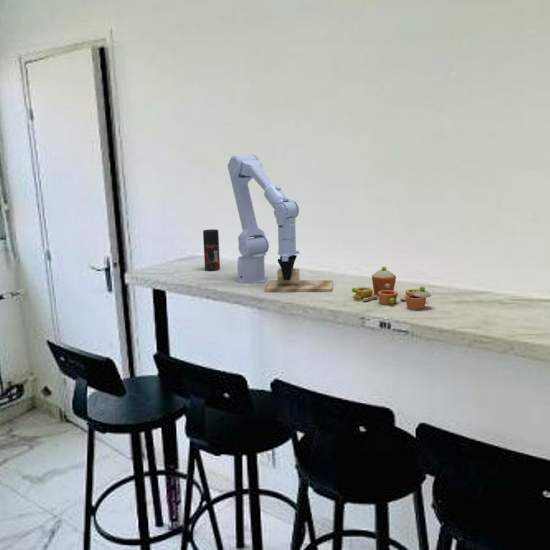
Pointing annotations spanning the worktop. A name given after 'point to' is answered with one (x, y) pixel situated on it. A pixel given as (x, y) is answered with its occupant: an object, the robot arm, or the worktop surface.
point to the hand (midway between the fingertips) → (287, 278)
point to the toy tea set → (390, 291)
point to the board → (301, 286)
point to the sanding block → (292, 282)
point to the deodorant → (211, 249)
